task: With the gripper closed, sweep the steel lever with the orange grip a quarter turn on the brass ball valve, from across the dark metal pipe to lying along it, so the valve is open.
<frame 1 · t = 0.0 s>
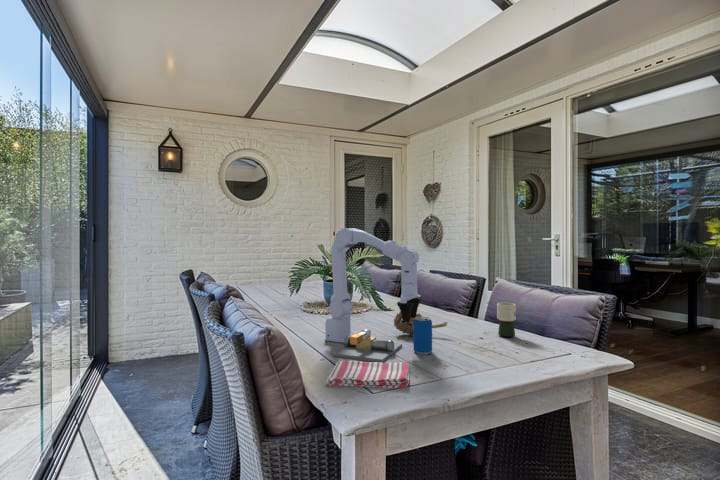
hand: (409, 319, 151), 10 cm above the table, tool pointing down, fingers open, 7 cm apart
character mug: (506, 336, 165), on the table
valve pipe: (366, 350, 148), resting on base board
beverage can: (422, 352, 145), on the table
valve lever: (361, 336, 143), point 6 cm above the table, hinge at 0.0°
pine cone: (420, 335, 168), on the table
base board: (368, 351, 147), on the table
dish towel: (369, 378, 122), on the table
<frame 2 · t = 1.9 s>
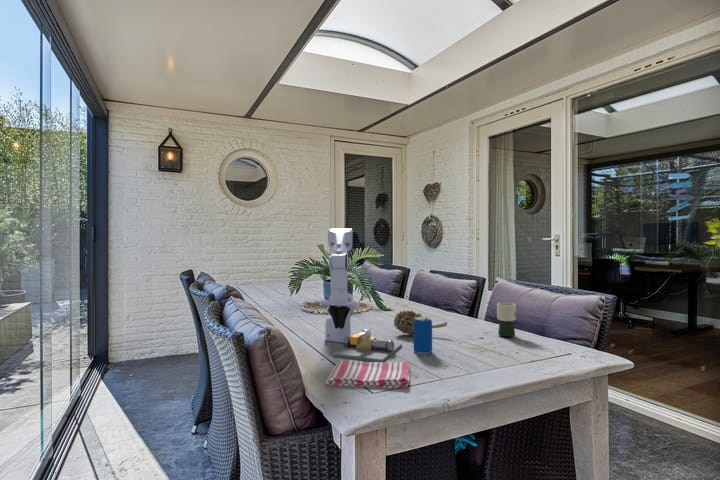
hand: (339, 328, 143), 9 cm above the table, tool pointing down, fingers closed
nothing on the table moved.
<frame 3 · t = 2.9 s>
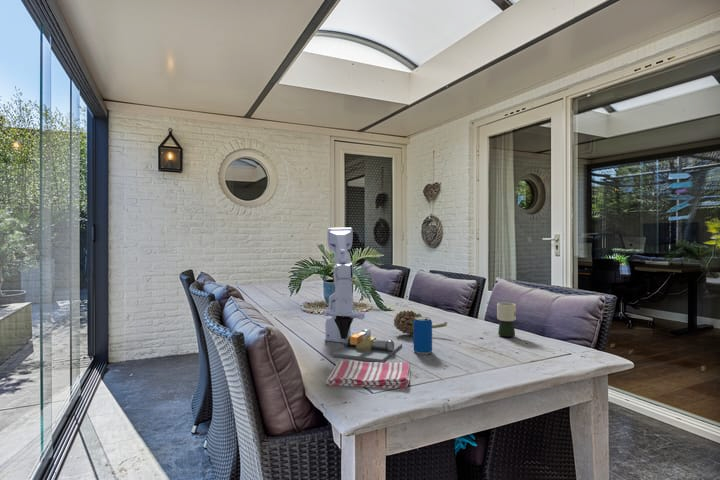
hand: (344, 338, 142), 6 cm above the table, tool pointing down, fingers closed
nothing on the table moved.
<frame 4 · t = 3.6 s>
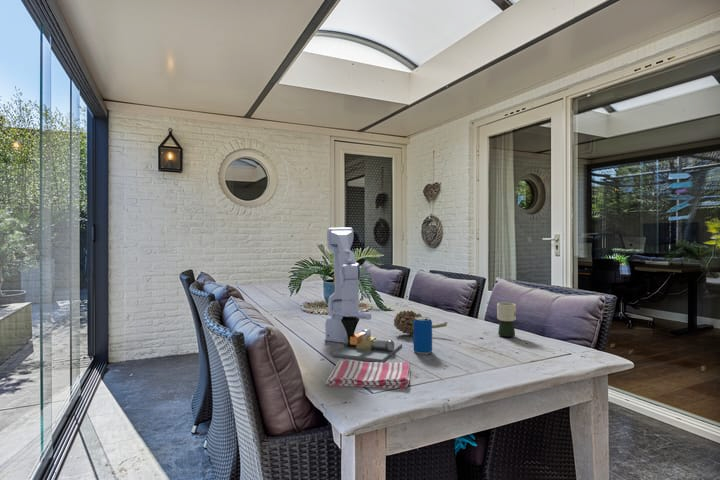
hand: (350, 339, 141), 6 cm above the table, tool pointing down, fingers closed
valve lever: (361, 336, 143), point 6 cm above the table, hinge at 0.0°, touching gripper
everything else where it was.
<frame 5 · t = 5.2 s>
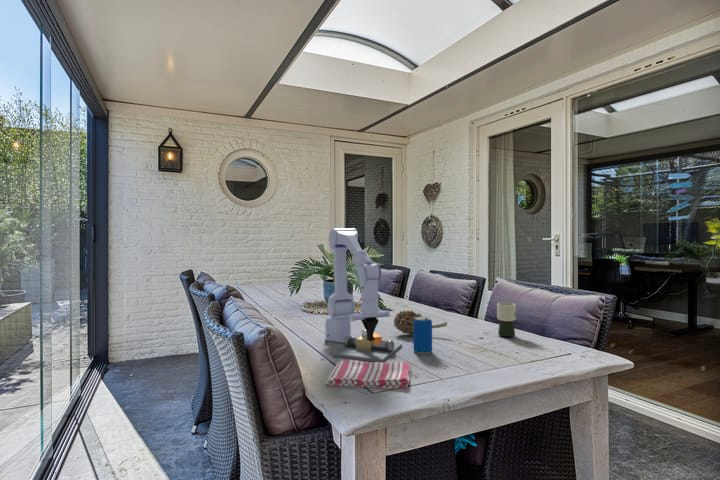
hand: (370, 340, 139), 6 cm above the table, tool pointing down, fingers closed
valve lever: (371, 336, 143), point 6 cm above the table, hinge at 45.7°, touching gripper
everything else where it was.
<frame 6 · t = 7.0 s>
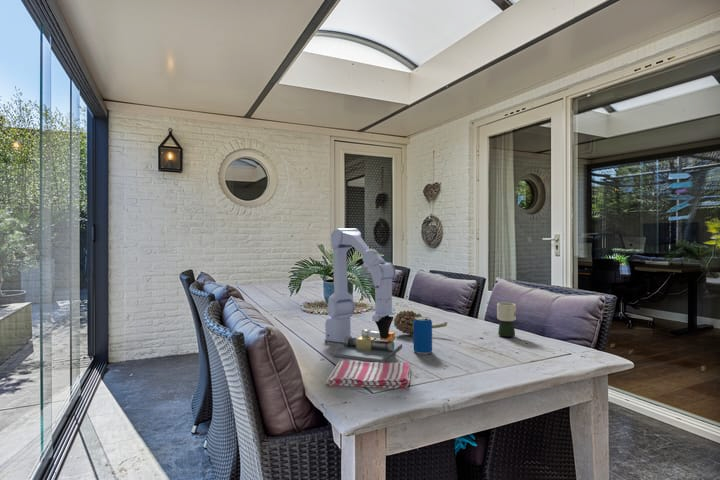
hand: (384, 338, 142), 6 cm above the table, tool pointing down, fingers closed
valve lever: (377, 334, 145), point 6 cm above the table, hinge at 85.8°, touching gripper
everything else where it was.
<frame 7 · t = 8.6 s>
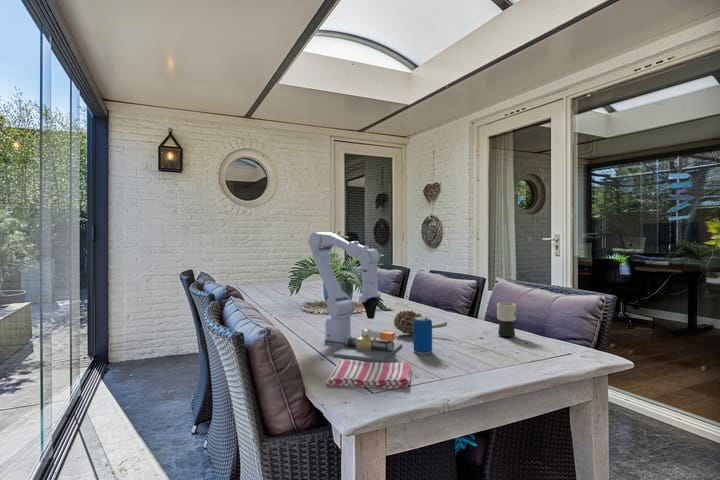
hand: (370, 318, 153), 10 cm above the table, tool pointing down, fingers closed
valve lever: (377, 334, 145), point 6 cm above the table, hinge at 85.9°
everything else where it was.
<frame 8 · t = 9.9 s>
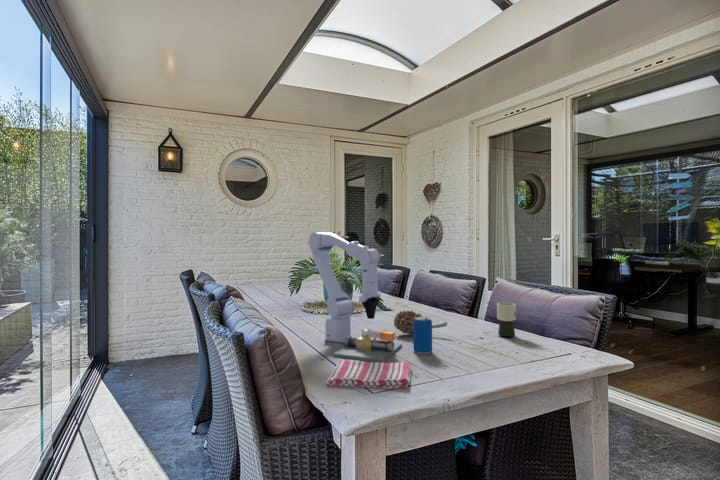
hand: (370, 318, 153), 10 cm above the table, tool pointing down, fingers closed
nothing on the table moved.
at the end: valve lever at +86° (first picture: +0°); beverage can moved 0.2 cm from its start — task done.
